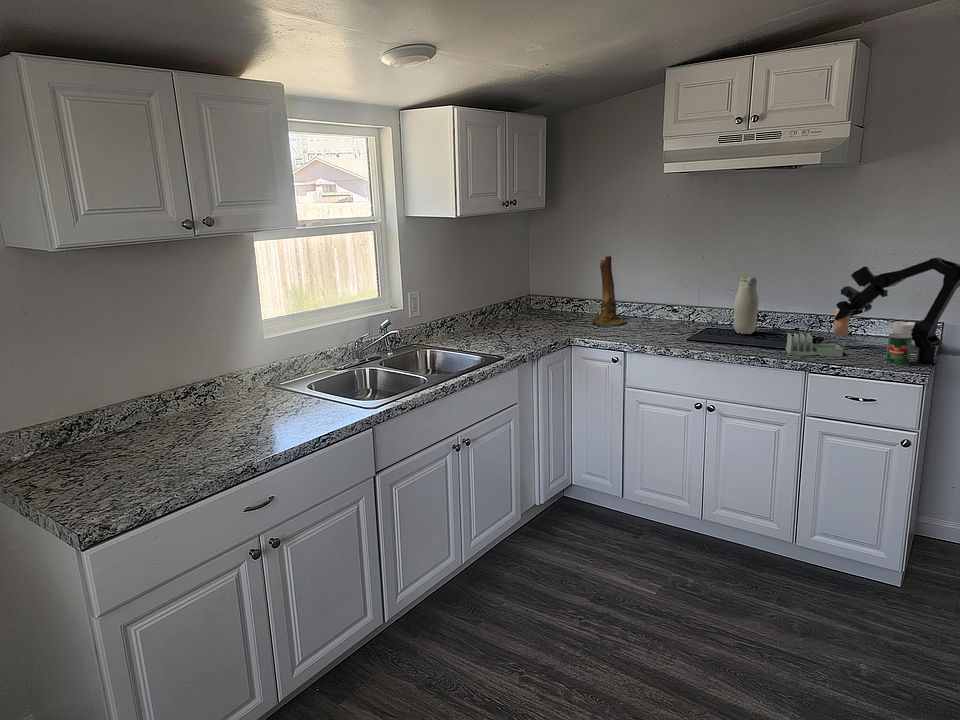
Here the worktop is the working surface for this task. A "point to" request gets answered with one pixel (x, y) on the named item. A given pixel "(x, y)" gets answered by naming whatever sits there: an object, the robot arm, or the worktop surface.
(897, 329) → the white cup
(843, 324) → the orange rounded blob
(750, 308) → the glass bottle
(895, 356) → the canned tomato
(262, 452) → the worktop surface
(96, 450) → the worktop surface
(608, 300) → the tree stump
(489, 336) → the worktop surface
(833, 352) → the dish rack
